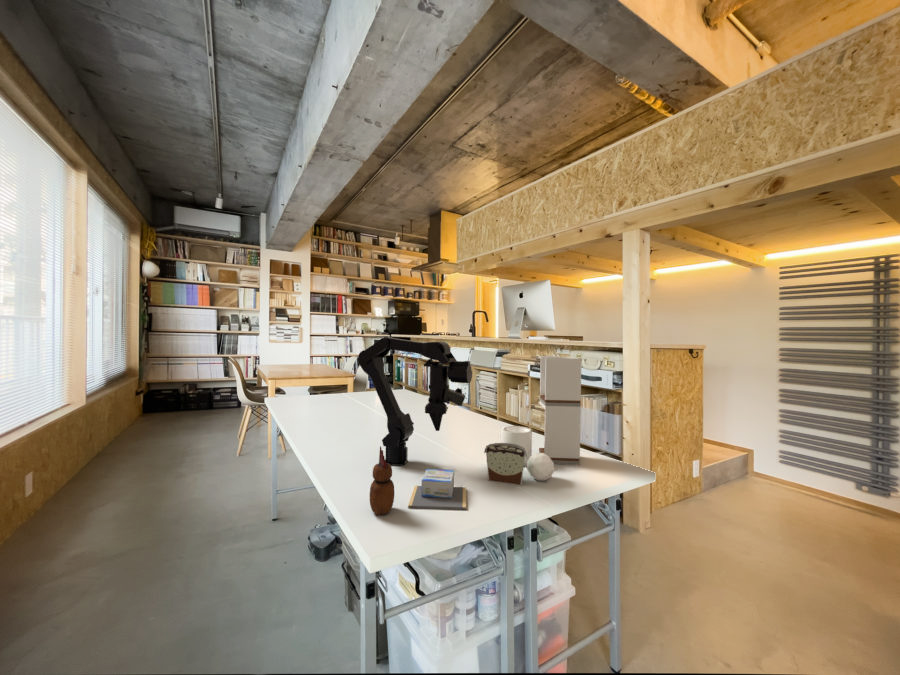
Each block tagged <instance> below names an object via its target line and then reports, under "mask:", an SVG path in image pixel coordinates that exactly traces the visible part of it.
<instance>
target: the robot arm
mask: <svg viewBox="0 0 900 675" xmlns="http://www.w3.org/2000/svg"><path fill="white" fill-rule="evenodd" d="M390 351H398V352H399V351H401V352H407V353H412V354H417V355H421V356H422V357H424V358H426V359H427V361H426V362H424V363H423V367H425V368H426V367H427V368H429V384H428V389H429V393H428V395H429V397H428V399H427V400H428V402H427V403H426V405H425V406H424V413H425V414H428V415H429V417H430V420H431V422H432V424H433V426H434V429H435V431H436V432H439V431H440V429H441V425H442V420H443V415H446V414H447V412H448V409H449V406H448V405H450V403H453V404H455V405H456V406H459V407H462V406H463V404H464V402H465V398H466V394H464V393H463V389H462V388H459V387H457V388H456V389H451V388H450V384H449V383H448V382H449V381H450V382H451V383H458V384H459V383H460V384H471V382H472V379H473V369H472V365H471V361H470V360H464V361H463V360H457V358H455V356H454V354H453V353H452V352H451V346H450V345H449V343H447V342H446V341H425V342H422V341H418V340H410V339H401V338H395V337H392V336H383V337H382V338H380V339H379V340H378V341H376V342H375V343H374V344H372V345H371V346H369V347H367V348H366V349H363V350H361V351H360V352H359V353H358V355H357V363H358V365H359V367H360V368H361V369H362V371H363V372H364V373H365V375H367V376H368V377H369V378H370V379H371V382H372V384H373V387H374V389H375V392H376V394H377V396H378V399H379V401H380V404H381V405H382V408H383V410H384V412H385V415H386V419H387V420H386V425H387V426H386V428H387V432H388V433H387V434H386V435H385V436H384V437H383V438H382V439H381V442H382V445H383V447H385V457H384V458H385V461H386V463H388V464H390V465H391V466H405V464H406V463H407V461H408V455H409V452H408V451H409V450H408V449H409V448H408V446H407V442H408V441H409V438H410V437H411V436H412V435H413V433H414V429H415V428H414V424H415V423H414V422H413V420H412V418H411V414H410V413H409V412H408V413H406V414H405V413H404V412H403V411H402V410H401V408H400V405H399V403H398V401H397V399H396V396H395V394H394V392H393V389H392V387H391V385H390V382H389V380H388V378H387V376H386V374H385V360H384V358H385V357H387V355H388V354H389V353H390Z"/></svg>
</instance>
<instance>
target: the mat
mask: <svg viewBox="0 0 900 675" xmlns="http://www.w3.org/2000/svg"><path fill="white" fill-rule="evenodd" d="M421 487H422V485H414V487H413V490H412V492H411V496H410V498H409V501H408V502H409V503H408V506H407V508H408V509H423V510H424V509H427V510H428V509H429V510H453V511H455V510H458V511H467V488H466V486H454V488H453V493H452V498H439V497H421Z"/></svg>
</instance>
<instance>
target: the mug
mask: <svg viewBox="0 0 900 675" xmlns="http://www.w3.org/2000/svg"><path fill="white" fill-rule="evenodd" d="M500 433H501V434H500V437H501V438H500V443H510V444H516V445H519V446H522V447H523V448H524V449H525V451H526V454H527V458H526V455H525V458H524V466H525V467H526V466H527V462H528V460H529V458H530V456H532V455H533V452H532V451H533V450H532V448H533V447H532V445H533V443H532V442H533V429H532V428H530V427H527V426H522V425H507V426H503V427H501V431H500ZM524 466H523V467H524Z"/></svg>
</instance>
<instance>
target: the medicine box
mask: <svg viewBox="0 0 900 675" xmlns="http://www.w3.org/2000/svg"><path fill="white" fill-rule="evenodd" d="M421 486H422V487H421V497H439V498H452V493H453V488H454V487H455V470H454V469H435V468H427V469H425V472H424V474H423V476H422V478H421Z"/></svg>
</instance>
